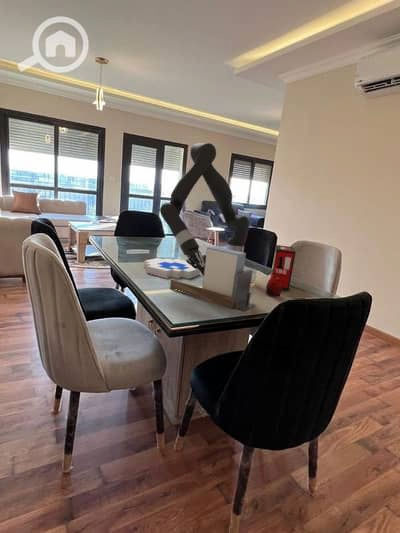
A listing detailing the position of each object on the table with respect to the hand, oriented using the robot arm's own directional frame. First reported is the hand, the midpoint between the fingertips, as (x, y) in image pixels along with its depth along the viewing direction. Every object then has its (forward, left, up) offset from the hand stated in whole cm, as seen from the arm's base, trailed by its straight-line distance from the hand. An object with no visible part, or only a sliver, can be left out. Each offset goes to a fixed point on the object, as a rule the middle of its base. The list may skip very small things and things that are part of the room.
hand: (206, 275), depth 136 cm
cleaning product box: (-44, +18, -8) cm, 48 cm away
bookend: (+1, +20, -8) cm, 21 cm away
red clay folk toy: (-25, +22, -8) cm, 34 cm away
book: (0, +8, -8) cm, 12 cm away
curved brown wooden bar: (0, +2, -8) cm, 8 cm away
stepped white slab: (-18, -33, -9) cm, 39 cm away
